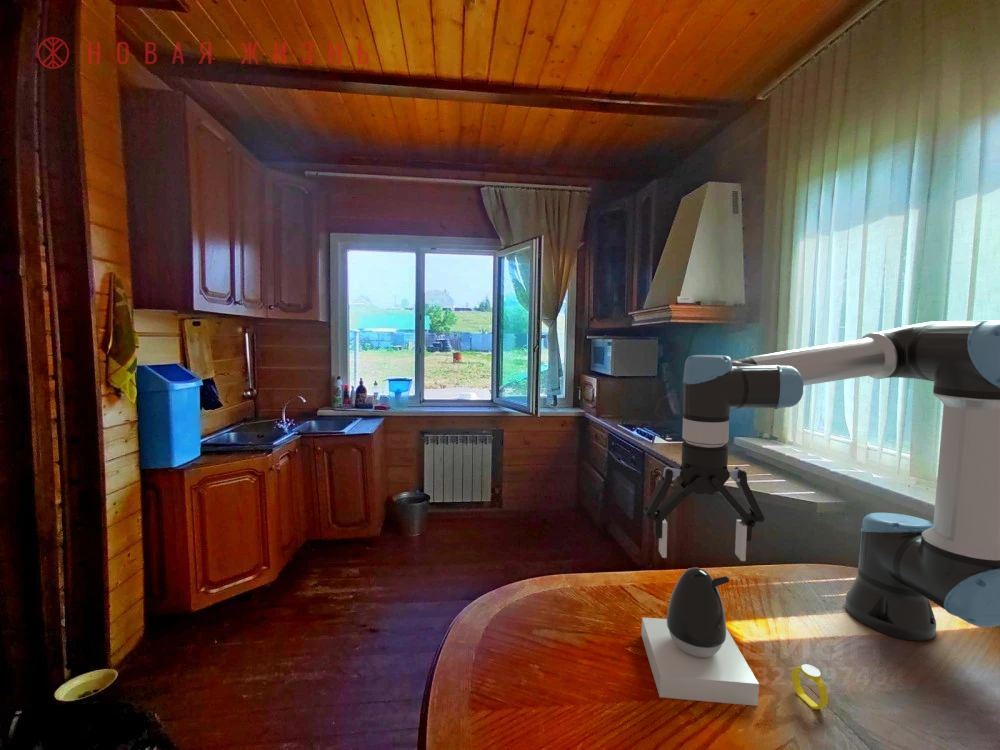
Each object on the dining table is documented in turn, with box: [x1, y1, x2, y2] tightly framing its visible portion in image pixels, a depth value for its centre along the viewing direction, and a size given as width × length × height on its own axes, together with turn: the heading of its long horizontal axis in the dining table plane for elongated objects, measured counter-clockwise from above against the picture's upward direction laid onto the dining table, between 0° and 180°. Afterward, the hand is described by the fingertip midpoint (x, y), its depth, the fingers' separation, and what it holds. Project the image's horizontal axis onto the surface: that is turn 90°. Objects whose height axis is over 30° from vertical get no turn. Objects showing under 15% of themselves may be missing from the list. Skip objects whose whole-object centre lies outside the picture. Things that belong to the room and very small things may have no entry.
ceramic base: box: [640, 617, 760, 707], centre depth 86 cm, size 16×16×4 cm
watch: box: [790, 663, 829, 710], centre depth 78 cm, size 6×3×6 cm, turn 12°
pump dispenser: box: [666, 567, 730, 657], centre depth 85 cm, size 10×10×15 cm
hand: (701, 555), depth 84 cm, fingers open, 13 cm apart
